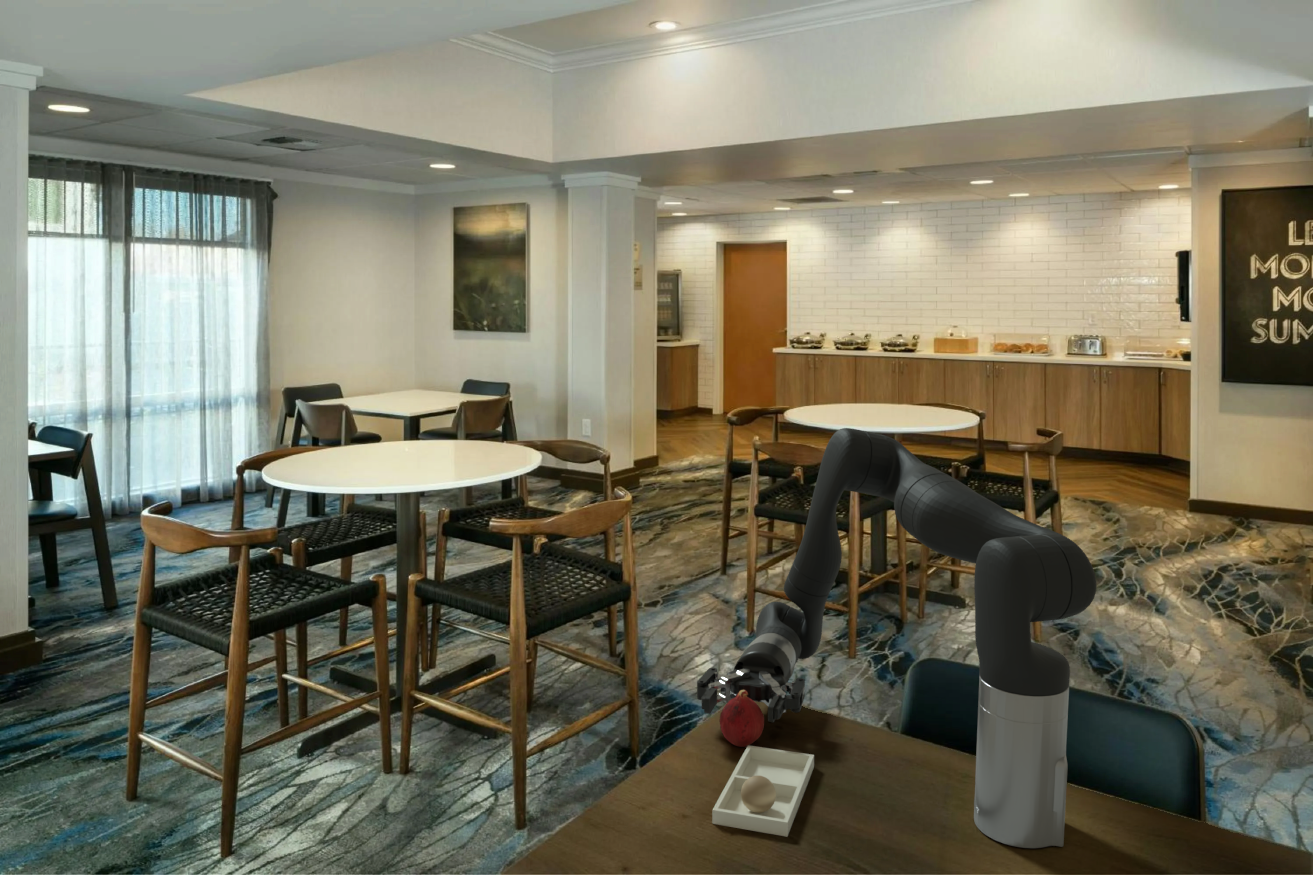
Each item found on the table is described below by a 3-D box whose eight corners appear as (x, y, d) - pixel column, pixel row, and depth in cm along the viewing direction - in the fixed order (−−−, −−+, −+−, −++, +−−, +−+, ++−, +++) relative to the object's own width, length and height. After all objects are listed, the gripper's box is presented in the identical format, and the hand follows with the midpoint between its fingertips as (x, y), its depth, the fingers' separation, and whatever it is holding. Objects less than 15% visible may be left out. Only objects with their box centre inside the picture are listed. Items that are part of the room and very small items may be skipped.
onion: (748, 762, 122) (748, 703, 121) (711, 750, 126) (711, 692, 125) (771, 745, 127) (772, 688, 126) (735, 734, 130) (735, 678, 129)
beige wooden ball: (779, 804, 111) (779, 771, 110) (771, 822, 107) (771, 788, 106) (745, 798, 112) (745, 766, 111) (737, 816, 108) (736, 783, 108)
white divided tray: (813, 772, 120) (814, 754, 119) (787, 842, 104) (787, 822, 104) (747, 762, 122) (747, 745, 122) (712, 829, 107) (712, 809, 107)
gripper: (718, 636, 141) (685, 676, 126) (815, 646, 136) (792, 690, 121) (719, 684, 142) (686, 730, 127) (814, 696, 137) (792, 745, 122)
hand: (738, 710), depth 124 cm, fingers open, 8 cm apart
